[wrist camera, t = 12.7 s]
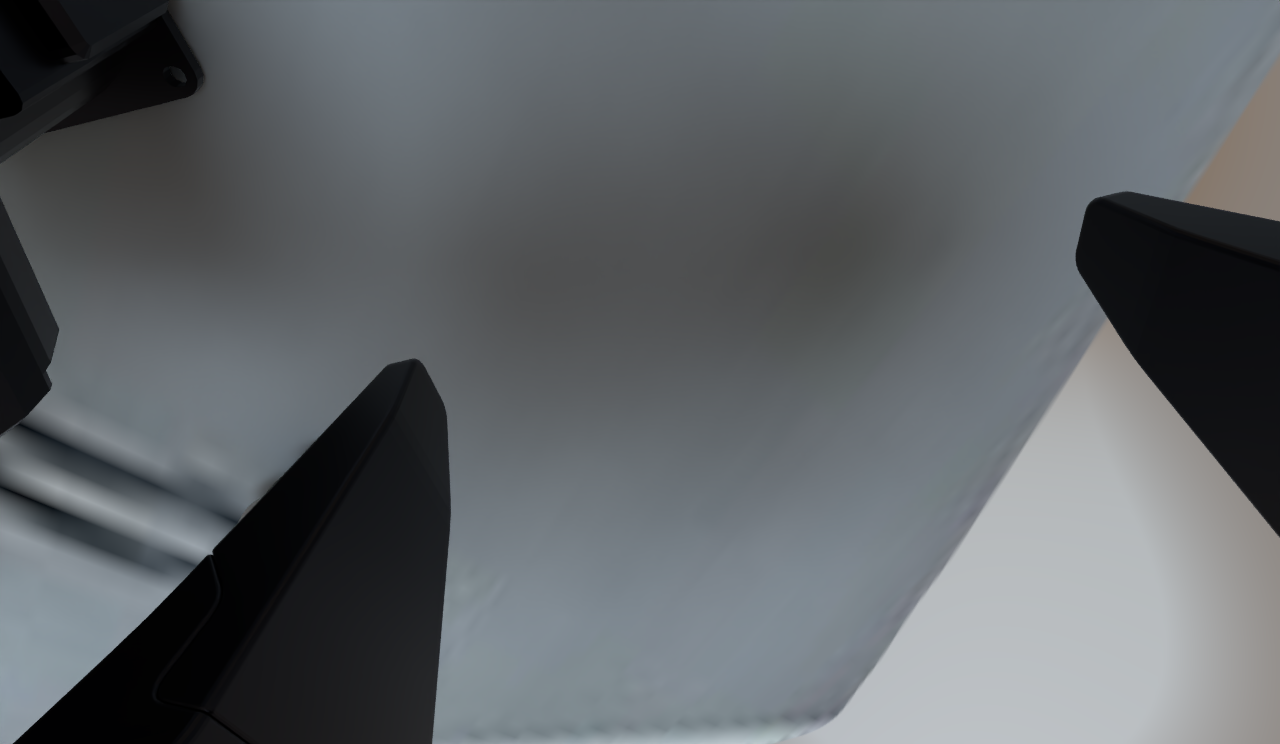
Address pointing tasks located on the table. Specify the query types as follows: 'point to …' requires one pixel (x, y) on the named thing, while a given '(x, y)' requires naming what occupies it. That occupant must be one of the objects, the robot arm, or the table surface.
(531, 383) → the table surface
